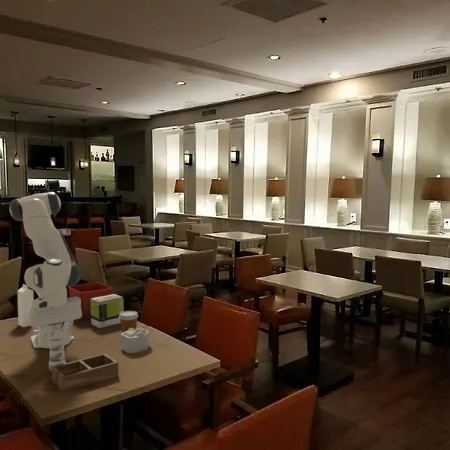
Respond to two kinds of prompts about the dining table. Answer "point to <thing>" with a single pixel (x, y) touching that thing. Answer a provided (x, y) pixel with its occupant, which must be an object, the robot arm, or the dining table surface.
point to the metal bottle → (56, 346)
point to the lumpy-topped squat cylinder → (134, 340)
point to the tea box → (106, 310)
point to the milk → (24, 305)
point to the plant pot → (88, 295)
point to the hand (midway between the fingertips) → (56, 333)
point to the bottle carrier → (84, 372)
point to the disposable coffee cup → (128, 320)
